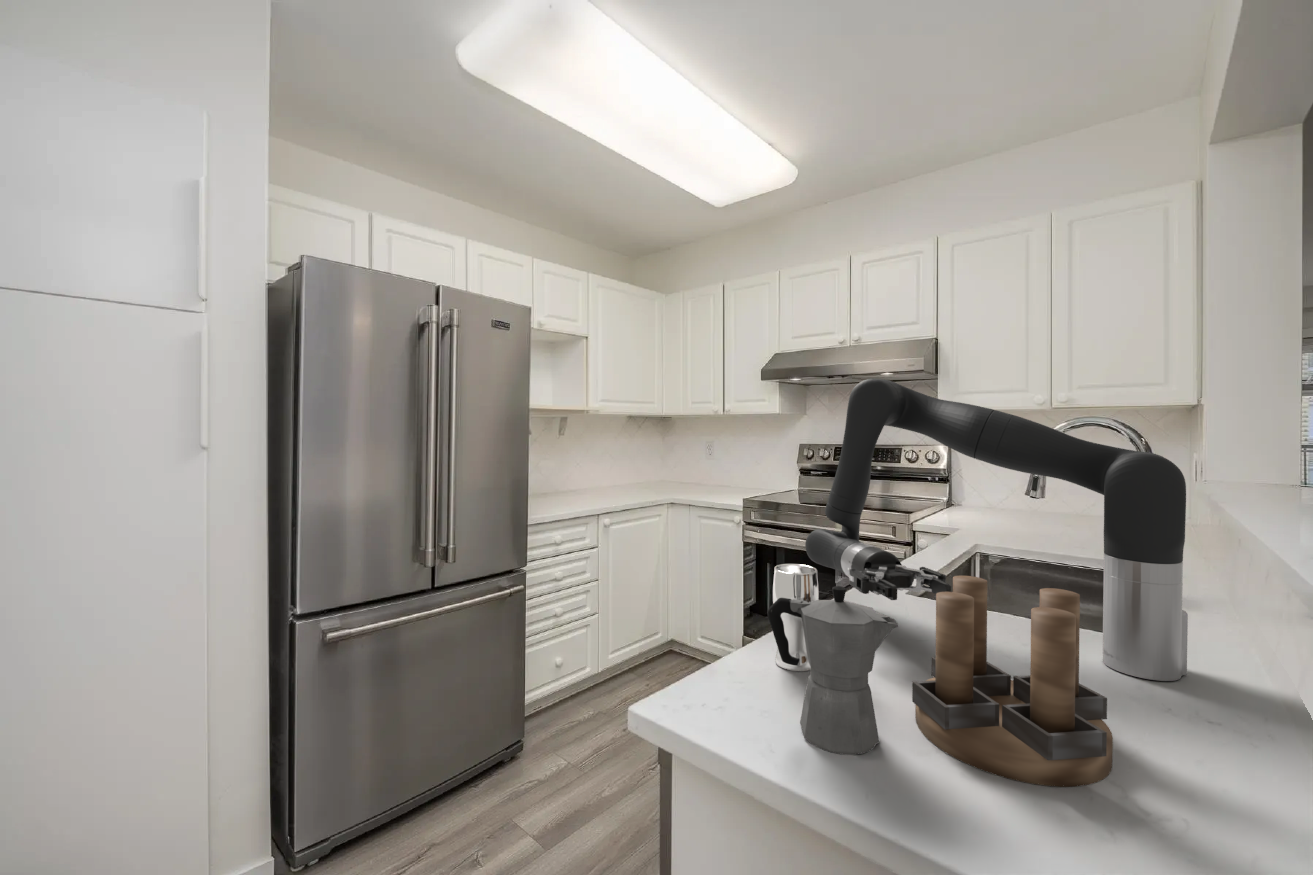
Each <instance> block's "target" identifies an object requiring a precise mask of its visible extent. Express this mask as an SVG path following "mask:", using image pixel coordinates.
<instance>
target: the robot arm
mask: <svg viewBox="0 0 1313 875" xmlns="http://www.w3.org/2000/svg"><path fill="white" fill-rule="evenodd" d="M885 426H886V427H887V426H888V427H891V428H896V429H897V428H899V429H901V430H906V431H910V432H913V433H917V434H921V435H924V436H925V437H929V438H930V439H932V440H935V441H936V442H939V443H940V444H942V445H944V446H946V447H947V448H949V449H952V450H954V451H956V452H957V453H959V454H962V455H964V456H966V457H970V458H972V459H974V460H978V461H982V462H984V463H987V464H990V465H992V466H993V465H994V466H996V467H999V468H1004V469H1007V470H1011V471H1017V472H1019V473H1020V472H1021V473H1025V474H1031V475H1037V476H1040V477H1041V476H1043V477H1047V478H1054V479H1056V480H1057V479H1059V480H1062V481H1065V482H1069V483H1071V484H1074V485H1077V486H1080V487H1083V488H1086V489H1088V490H1090V491H1093V492H1095V493H1097V494H1100V495H1102V496H1103V585H1102V586H1103V587H1102V588H1103V593H1102V594H1103V599H1102V601H1103V602H1102V605H1103V606H1102V609H1103V610H1102V615H1103V616H1102V662H1103V664H1104V665H1105V666H1107V667H1109V668H1110V669H1112V670H1114V671H1117V672H1120V673H1123V674H1126V675H1128V676H1132V677H1137V678H1141V679H1146V680H1151V681H1158V682H1159V681H1161V682H1172V681H1178V680H1180V679H1181V678H1182V676H1187V675H1188V634H1189V633H1188V632H1189V631H1188V627H1189V626H1188V625H1189V624H1188V623H1189V622H1188V621H1189V616H1188V612H1187V611H1186V610H1184V609H1183V578H1184V577H1183V566H1184V562H1183V561H1184V549H1185V542H1186V521H1187V520H1186V517H1187V516H1186V515H1187V509H1186V508H1187V483H1186V479H1185V476H1184V473H1183V472H1182V470H1181V469H1180V468H1179V466H1177V465H1176V464H1175V463H1174V462H1172V461H1171V460H1169V459H1168V458H1166V457H1164V456H1163V455H1159V454H1158V453H1157V454H1156V453H1153V452H1147V451H1138V450H1131V449H1125V448H1120V447H1116V446H1111V445H1106V444H1101V443H1096V442H1092V441H1088V440H1084V439H1081V438H1077V437H1074V436H1072V435H1069V434H1067V433H1065V432H1062V431H1060V430H1057V429H1055V428H1052V427H1050V426H1047V425H1044V424H1042V423H1039V422H1036V421H1033V420H1031V419H1027V418H1024V417H1021V416H1018V415H1015V414H1011V413H1008V412H1004V411H1000V410H997V409H993V408H989V407H985V406H980V405H974V404H970V403H965V402H960V401H953V400H946V399H941V398H938V397H937V398H936V397H932V396H930V395H927V394H925V393H923V392H922V393H921V392H919V391H918V390H914V389H911V388H908V387H906V386H905V385H901V384H899V383H897V382H894V381H892V380H889V379H883V378H882V379H881V378H867V379H864V380H861V381H859V383H857V384H856V385H855V386H854V387H853V388H852V389H851V392H850V394H849V398H848V403H847V410H846V419H845V426H844V427H845V428H844V434H843V440H842V445H841V451H840V456H839V461H838V465H837V468H836V472H835V476H834V479H833V482H832V486H831V489H830V492H829V495H828V498H827V502H826V505H825V510H824V514H825V516H826V518H827V519H829V520H830V521H831V522H834V523H835V524H838V525H840V526H841V531H836V530H835V531H834V530H830V529H824V528H817V529H814V530H813V531H811V532H810V533H809V534H808V535H807V537H806V539H805V543H804V545H805V546H804V547H805V552H806V554H807V556H808V558H809V559H810V560H811V561H812V562H814V563H815V564H817V565H820V566H823V567H826V568H830V569H833V570H836V571H837V572H840V573H841V574H843V575H845V576H846V577H848V578H849V581H848V582H849V585H850V586H852V587H853V588H854V589H856V590H857V591H858V592H860V593H861V594H865V595H867V594H869V593H870V592H871V593H873V594H874V595H877V596H879V595H882V596H884V597H885V598H887V599H889V600H891V601H897V600H898V591H904V590H905V591H909V592H914V593H921V592H924V591H925V592H930V593H932V594H935V595H936V594H937V593H939V592H952V586H951V584H950V583H948V582H947V575H946V574H944V573H942V572H938V571H936V570H933V569H931V568H929V567H926V566H919V568H918V569H915V568H909V567H907V566H905V565H902V563H901V561H900V560H899V558H898V557H897V556H896V555H895V554H893V553H891V552H889V551H887V550H885V549H882V548H880V547H877V546H875V545H873V544H869V543H864V542H863V541H860V526H861V517H862V514H863V511H864V508H865V504H866V501H867V497H868V493H869V491H870V484H871V473H872V464H873V456H874V451H875V450H876V449H875V448H876V445H877V442H878V440H879V437H880V436H881V434H882V431H883V429H884V427H885ZM914 580H916V581H915V582H916V583H915V584H916V585H915V586H913V584H914Z"/></svg>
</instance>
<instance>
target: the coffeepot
mask: <svg viewBox="0 0 1313 875" xmlns="http://www.w3.org/2000/svg"><path fill="white" fill-rule="evenodd" d="M831 588H832V589H831V590H832V595H833V596H832V597H833V599H818V600H816V601H812V602H809V603H808V602H806V601H803V600H796V599H793V600H791V599H788V598H779V599H778V600H777V601H776V602H775V603H774V604H773V603H772V605H770V606H769V607H768V609H767V612H766V613H767V619H768V621H769V624H770V627H771V631H772V633H773V637H774V639H775V643H776V646H777V647H778V650H779V653H780V656H781V659H782V661H783V662H784V663H787V664H790V665H798V663H799V660H800V659H799V658H795V657H793V656H791V655H790V653H789V643H788V639H787V637H786V635H785V632H784V624H783V620H782V618H781V614H782V613H788V614H790V615H793V616H797V617H800V618H802V623H803V630H804V637H805V644H806V651H807V658H808V662H809V664H810V666H811V668H810V670H809V671H810V672H809V673H810V674H809V675H808V677H807V682H806V687H805V693H804V698H803V705H802V709H801V716H800V721H799V724H800V727H801V734H802V735H803V737H804V739H805V740H806V741H808V742H809V743H810V744H811V745H813V746H815V747H817V748H819V749H821V750H823V751H826V752H829V753H833V754H837V755H847V756H848V755H849V756H852V755H853V756H855V755H861V754H865V753H868V752H870V751H872V750H873V749H875V747H876V745H877V744H879V743H880V738H879V737H880V736H879V733H878V726H877V719H876V714H875V708H874V700H873V695H872V690H871V687H870V684H869V673H870V672H872V671H873V666H874V661H875V656H876V652H877V651H878V648H879V647H880V645H881V644H882V642H883V641H884V640H885V638H886V637H887V636H888V635H889V634H890V633H891V631H892V630H893V629H896V628H898V627H899V624H898V622H897V620H896V619H894V618H892V617H891V616H889V615H885V614H882V613H879V612H876V610H875V609H874V608H873V607H871V606H867V605H863V604H861V603H860V604H859V603H855V602H851V601H849V600H845V596H846V591H847V588H846V587H844V586H840V585H837V586H832V587H831Z"/></svg>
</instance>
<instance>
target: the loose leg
mask: <svg viewBox="0 0 1313 875" xmlns="http://www.w3.org/2000/svg"><path fill="white" fill-rule="evenodd" d="M952 592H957V593H962V594H966V595H969V596H972V597H973V598H974V667H973V676H978V675H987V662H988V661H987V660H988V658H987V656H988V655H987V654H988V651H987V650H988V580H987V579H985V578H982V577H979V576H973V575H972V576H971V575H954V576H953V577H952Z"/></svg>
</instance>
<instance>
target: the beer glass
mask: <svg viewBox="0 0 1313 875" xmlns="http://www.w3.org/2000/svg"><path fill="white" fill-rule="evenodd" d="M773 573H774V574H773V584H772V605H773V604H774V603H775V602H776V601H777V600H778V599H779V598H788V599H791V600H793V599H796V600H803V601H806V602H808V603H809V602H812V601H816V600H819V581H818V569H817V568H816V567H814V566H811V565H808V564H807V565H806V564H800V563H781V564H777V565H776V566H774V571H773ZM781 618H782V620H783V624H784V632H785V635H786V637H787V639H788V643H789V653H790V655H791V656H793V657H795V658H799V659H800V660H799V663H798V665H790V664H787V663H784V662H783V661H782V659H781V656H780V653H779V650H778V646H777V648H776V652H775V653H776V654H775V659H774V660H775V661H774V662H775V664H776V665H777V666H778V667H779V668H782V669H784V670H786V669H787V670H788V671H792V672H807V671H810V668H811V666H810V664H809V662H808V658H807V651H806V644H805V637H804V630H803V623H802V618H800V617H797V616H793V615H790V614H788V613H782V614H781ZM787 670H786V671H787Z"/></svg>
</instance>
